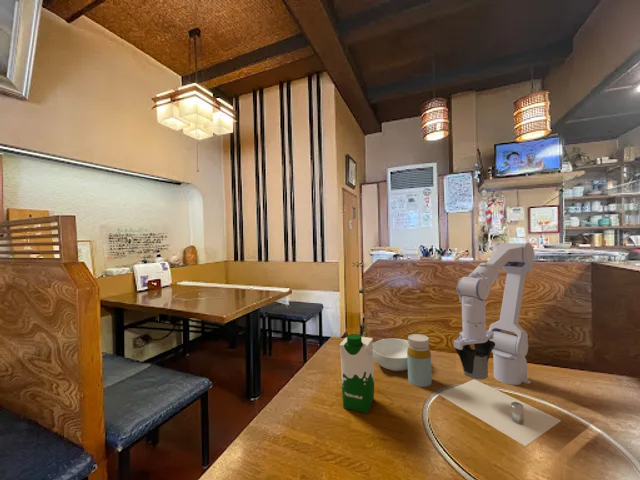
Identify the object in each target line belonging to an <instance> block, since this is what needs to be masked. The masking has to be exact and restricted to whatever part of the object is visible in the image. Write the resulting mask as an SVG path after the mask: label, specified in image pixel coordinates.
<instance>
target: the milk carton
mask: <svg viewBox="0 0 640 480" xmlns="http://www.w3.org/2000/svg"><path fill="white" fill-rule="evenodd" d="M373 343H374V339H373V337H367V336H366V337H365V336H362V335H360V334H358V333H357V334H356V333H351V334H348V335H347V336H345V338H343V340H342V341H341V342H340V343H339V353H340V367H341V369H340V372H341V373H340V374H341V377H340V378H341V393H342V408H343V409H348V410H351V411H354V412H355V411H356V412H360V413H363V414H369V412H370V409H371V406H372V403H373V401H374V400H375V365H374V361H375V360H374V357H373Z"/></svg>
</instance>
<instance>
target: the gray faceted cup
mask: <svg viewBox="0 0 640 480" xmlns="http://www.w3.org/2000/svg"><path fill="white" fill-rule="evenodd" d="M471 349H474V350H476V351H477V353H476V355H475V358H474V365H473V372H472V373H471V374H470V373H468V372H466V371H464V369H463V368H462V369H463V373H464V375H465V376H466V377H468V378H470V379H472V380H473V379H475V380H485V379H487V378H489V367H488V366H489V365H488V364H489V360H488V358H487V354H486V352H484V351H482V350H479V349H475V348H472V347H471Z"/></svg>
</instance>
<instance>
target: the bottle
mask: <svg viewBox="0 0 640 480" xmlns="http://www.w3.org/2000/svg"><path fill="white" fill-rule="evenodd" d="M407 340H408V350H407V361H408V370H407V381H408V383H410V384H411V385H413V386H415V387H419V388H427V387H430V386H431V385H432V384H433V383H432V381H433V378H432V353H431V351H430V339H429V337H428V336H427V335H425V334H421V333H420V334H419V333H413V334H409V335H408V337H407Z"/></svg>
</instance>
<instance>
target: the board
mask: <svg viewBox="0 0 640 480" xmlns="http://www.w3.org/2000/svg"><path fill="white" fill-rule="evenodd" d="M438 396H441V397H442V398H443V399H446V400H448V401H449V402H450V403H452V404H454V405H456V406H457V407H458V408H461V409H462V410H463V411H465V412H468V413H469V414H470V415H472V416H473V417H476V418H477V419H479V420H480V421H482V422H483V423H485V424H488V425H489V426H490V427H491V428H494V429H495V430H497V431H499V432H500V433H502V434H504V435H506V436H507V437H509V438H510V439H513V440H514V441H516V442H517V443H519V444H520V445H523V447H527V446H529V445H530V444H531V443H533V442H534V441H535V440H537V439H538V438H539V437H541V436H543V434H545V433H546V432H547V431H550V429H552V428H553V427H554V426H556V425H557V424H559V423H560V422H561V421H562V420H561V419H559V418H557V417H555V416H553V415H550V414H549V413H546V412H544V411H542V410H540V409H538V408H536V407H533V406H532V405H529V404H528V403H525V402H523V401H521V400H519V399H517V398H515V397H512V396H510V395H508V394H506V393H504V392H502V391H500V390H497V389H496V388H493V387H491V386H490V385H487V384H485V383H483V382H481V381H479V380H478V379H473V378H472V380H469V381H467V382H464V383H462V384H460V385H457V386H455V387H452V388H451V389H448V390H445V391H444V392H442V393H439V394H438ZM512 402H518V403H520V404H522V405H523V407H524V424H522V425H520V424H516V423H514V422H513V421H512V410H511V403H512Z"/></svg>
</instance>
